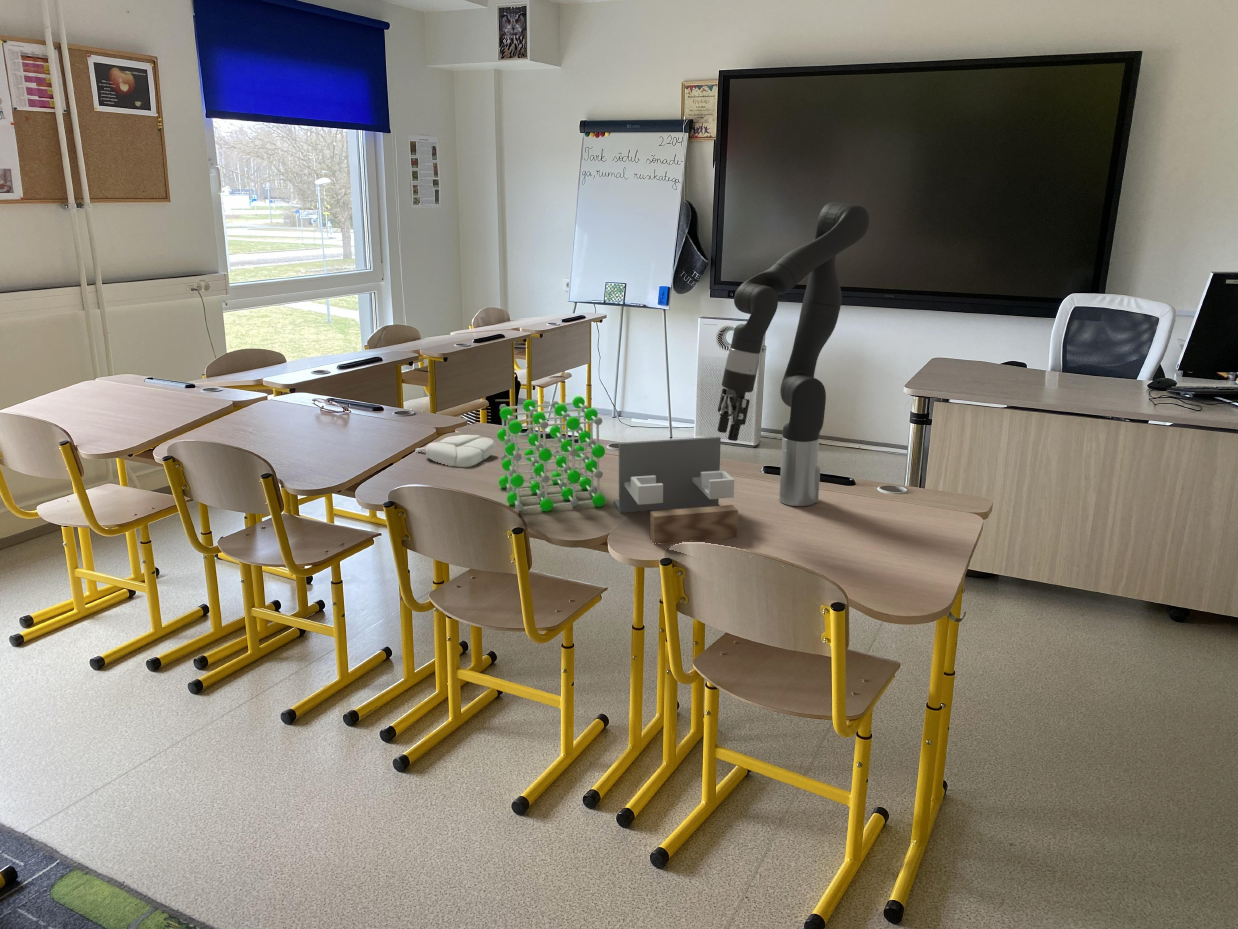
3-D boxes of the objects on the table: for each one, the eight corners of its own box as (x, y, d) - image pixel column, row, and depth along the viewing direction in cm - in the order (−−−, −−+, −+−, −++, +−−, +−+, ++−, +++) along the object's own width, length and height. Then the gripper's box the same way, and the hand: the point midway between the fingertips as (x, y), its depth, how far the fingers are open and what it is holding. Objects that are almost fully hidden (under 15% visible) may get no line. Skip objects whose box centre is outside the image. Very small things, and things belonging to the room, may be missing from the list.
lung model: (470, 469, 265) (400, 467, 276) (501, 455, 281) (433, 453, 291) (467, 447, 264) (397, 445, 274) (498, 434, 279) (430, 433, 289)
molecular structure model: (512, 516, 228) (509, 422, 221) (498, 486, 251) (494, 400, 244) (606, 508, 234) (606, 415, 227) (584, 479, 257) (583, 394, 250)
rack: (709, 496, 242) (711, 430, 237) (737, 524, 222) (740, 453, 217) (613, 503, 237) (613, 436, 231) (633, 533, 217) (633, 460, 211)
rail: (731, 532, 217) (732, 504, 215) (736, 538, 214) (737, 510, 212) (650, 539, 213) (650, 511, 211) (654, 545, 210) (654, 516, 208)
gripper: (766, 377, 209) (751, 445, 213) (746, 367, 223) (732, 431, 226) (735, 372, 207) (720, 441, 211) (717, 362, 221) (703, 427, 225)
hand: (726, 436), depth 219 cm, fingers open, 8 cm apart
